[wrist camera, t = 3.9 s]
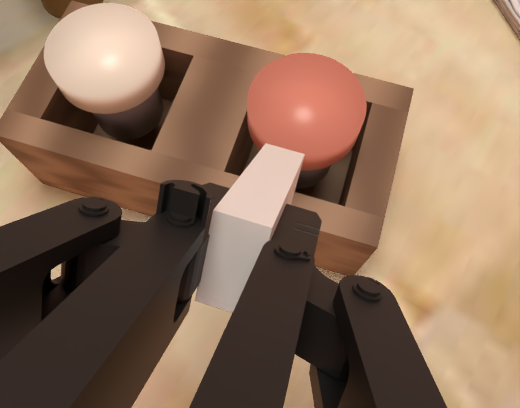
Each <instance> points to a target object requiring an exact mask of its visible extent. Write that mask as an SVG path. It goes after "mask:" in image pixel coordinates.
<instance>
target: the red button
mask: <svg viewBox="0 0 520 408" xmlns="http://www.w3.org/2000/svg"><path fill="white" fill-rule="evenodd" d="M366 108H367V103H366V96H365V93H364V90H363V88H362V85H361V84H360V82H359V80H358V79H357V78H356V76H355V75H354V74H353V73H352V72H351V71H350V70H349V69H348V68H346V67H345V66H344V65H342V64H341V63H339V62H337V61H336V60H333V59H331V58H329V57H325V56H322V55H318V54H310V53H298V54H291V55H287V56H283V57H280V58H278V59H276V60H274V61H272V62H270V63H269V64H267V65H266V66H265V67H263V68H262V69H261V70H260V71H259V72H258V74H257V75H256V76H255V78H254V79H253V81H252V83H251V85H250V87H249V91H248V95H247V120H248V129H249V133H250V136H251V138H252V140H253V142H254V144H255V145H256V147H257V148H258V149H259V150H261V149H262V147H263V146H264V145H265V144H266V143H267V144H270V145H274V146H277V147H281V148H285V149H288V150H292V151H295V152H299V153H302V154H305V156H304V160H303V163H302V167H301V170H300V174H299V178H298V181H297V185H296V189H301V188H307V187H311V186H313V185H315V184H317V183H318V182H320V181H321V180H322V179H323V178H324V177H325V176H326V175H327V173H328V171H329V169H330V166H331V165H333V164H334V163H336V162H338V161H339V160H341V159H342V158H343V157H345V156H346V155H347V154H348V153H349V151H350V150H351V149H352V147H353V146H354V144H355V142H356V140H357V137H358V135H359V132H360V130H361V127H362V125H363V122H364V119H365V116H366Z"/></svg>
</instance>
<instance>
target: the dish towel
mask: <svg viewBox="0 0 520 408" xmlns="http://www.w3.org/2000/svg"><path fill="white" fill-rule="evenodd" d="M494 1H495V2H496V4H497V5H498V7H499V9H500V10H501V11H502V13H503V15H504V16H505V18H506V19H507V21H508V22H509V24H510V25H511V27H512V28H513V30H514V31H515V33H516V35H517V36H518V38H519V40H520V0H494Z"/></svg>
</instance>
